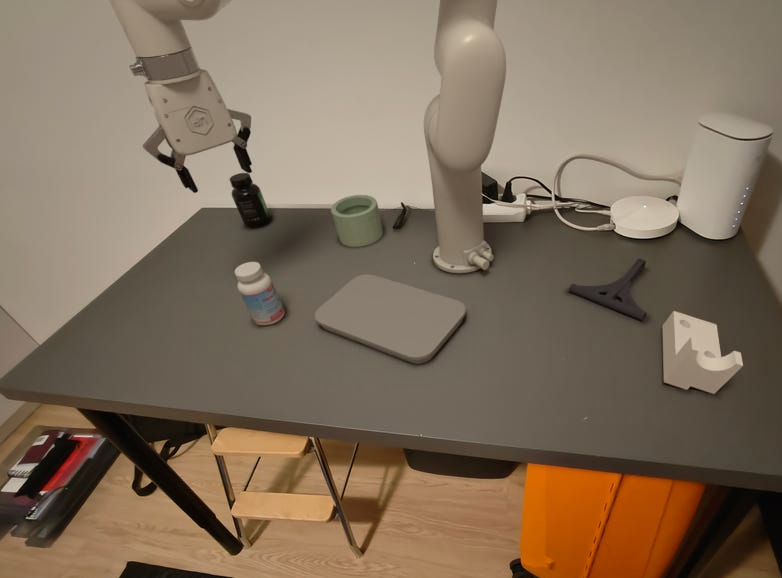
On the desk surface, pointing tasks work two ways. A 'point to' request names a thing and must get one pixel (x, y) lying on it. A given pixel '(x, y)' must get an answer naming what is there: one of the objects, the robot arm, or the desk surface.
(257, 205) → the supplement bottle
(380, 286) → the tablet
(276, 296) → the pill bottle
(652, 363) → the desk surface
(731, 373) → the bracket
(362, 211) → the green cylindrical sleeve
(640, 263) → the bracket
